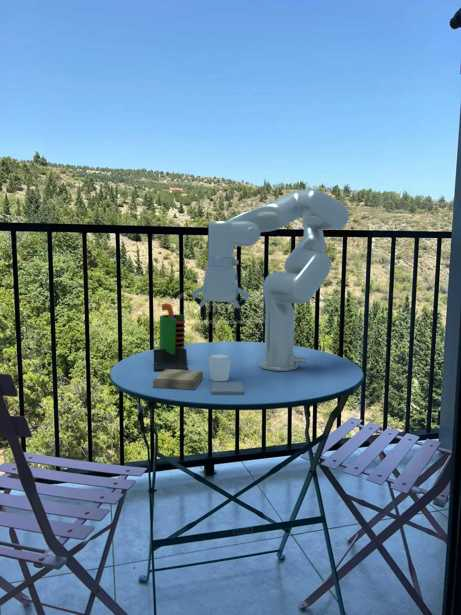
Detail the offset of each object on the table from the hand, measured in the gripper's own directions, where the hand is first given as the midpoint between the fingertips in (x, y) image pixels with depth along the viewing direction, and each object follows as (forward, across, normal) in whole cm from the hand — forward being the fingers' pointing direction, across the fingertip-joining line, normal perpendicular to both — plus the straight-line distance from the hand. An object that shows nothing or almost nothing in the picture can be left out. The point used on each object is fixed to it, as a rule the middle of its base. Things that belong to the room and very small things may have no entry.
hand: (219, 320), depth 154 cm
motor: (+18, +19, -18) cm, 32 cm away
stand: (+18, +11, +7) cm, 22 cm away
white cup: (+18, 0, 0) cm, 18 cm away
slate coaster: (+18, -4, +11) cm, 21 cm away
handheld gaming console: (+18, +18, -10) cm, 27 cm away
